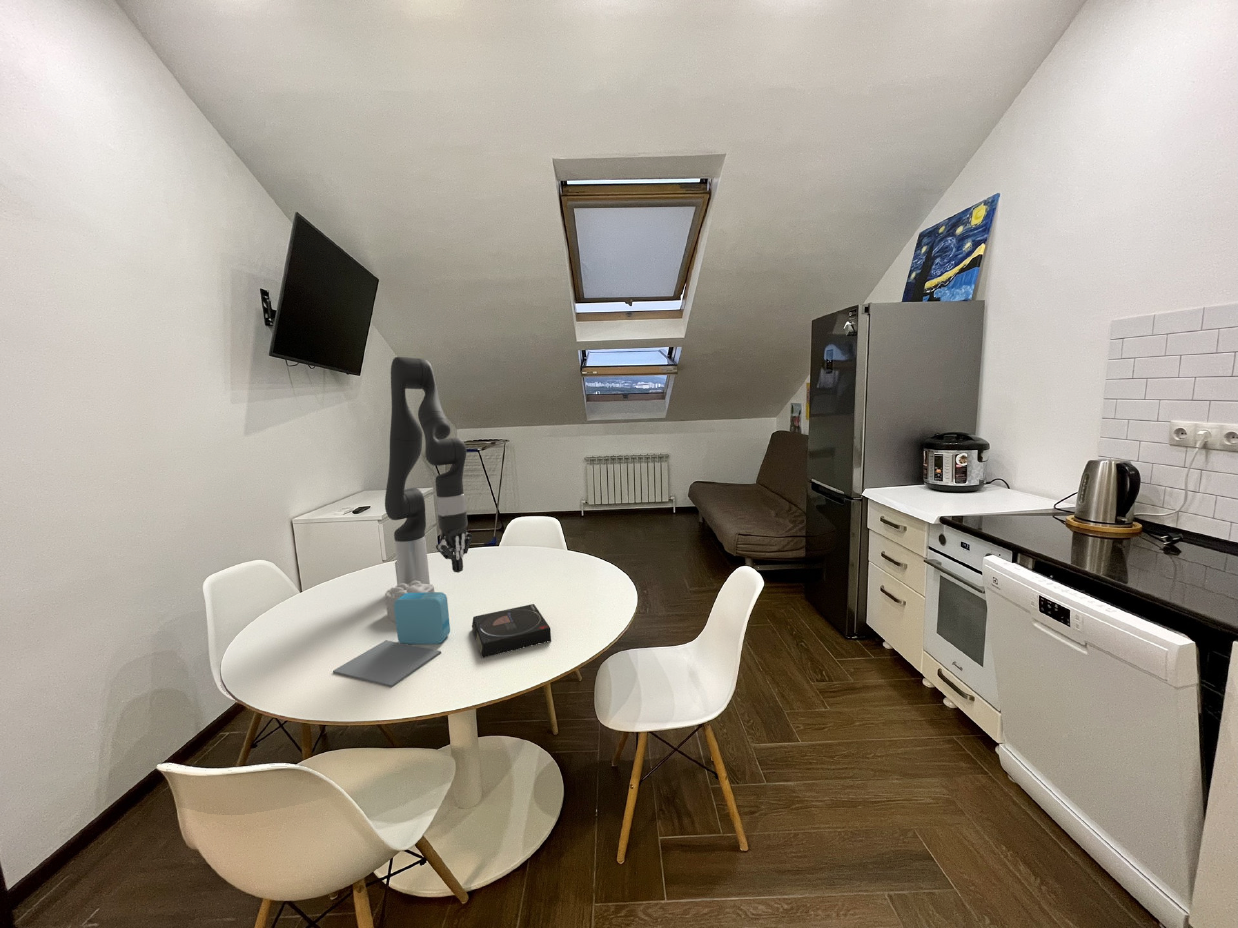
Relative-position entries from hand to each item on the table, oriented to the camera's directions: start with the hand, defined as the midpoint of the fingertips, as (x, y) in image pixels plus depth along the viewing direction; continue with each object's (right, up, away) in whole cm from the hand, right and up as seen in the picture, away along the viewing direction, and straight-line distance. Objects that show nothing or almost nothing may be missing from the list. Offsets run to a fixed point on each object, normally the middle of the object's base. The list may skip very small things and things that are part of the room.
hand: (458, 571), depth 138 cm
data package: (-5, -15, -11) cm, 20 cm away
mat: (-9, -17, -21) cm, 29 cm away
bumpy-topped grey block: (-16, -14, +5) cm, 21 cm away
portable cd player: (+17, -15, -10) cm, 25 cm away
